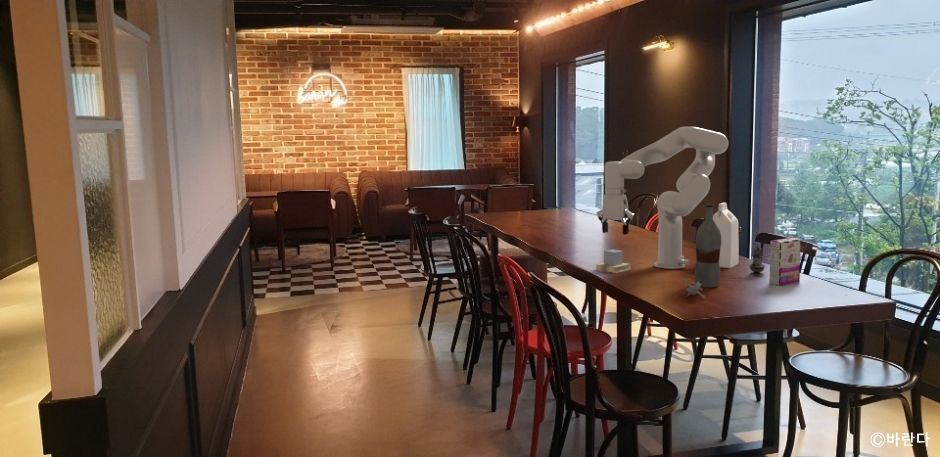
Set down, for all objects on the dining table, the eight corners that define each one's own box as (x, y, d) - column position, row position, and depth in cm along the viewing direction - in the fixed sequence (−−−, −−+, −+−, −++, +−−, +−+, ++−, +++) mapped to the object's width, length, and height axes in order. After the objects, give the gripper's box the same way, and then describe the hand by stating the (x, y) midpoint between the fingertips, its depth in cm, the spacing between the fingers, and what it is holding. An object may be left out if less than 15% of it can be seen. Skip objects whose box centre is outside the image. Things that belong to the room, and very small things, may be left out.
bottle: (688, 283, 269) (690, 203, 264) (707, 281, 272) (710, 202, 268) (706, 288, 260) (708, 206, 256) (725, 286, 264) (728, 204, 259)
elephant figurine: (705, 295, 251) (713, 291, 243) (695, 307, 251) (702, 304, 242) (683, 276, 253) (690, 272, 244) (672, 288, 252) (678, 285, 243)
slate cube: (622, 264, 296) (623, 251, 295) (614, 265, 292) (615, 252, 291) (611, 262, 300) (612, 249, 299) (603, 263, 296) (604, 250, 295)
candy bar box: (788, 280, 272) (790, 237, 270) (799, 282, 267) (802, 239, 265) (767, 283, 267) (769, 240, 264) (779, 286, 262) (781, 241, 260)
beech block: (630, 271, 297) (630, 263, 296) (616, 274, 290) (616, 267, 289) (610, 267, 304) (610, 260, 303) (596, 271, 297) (596, 264, 296)
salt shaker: (765, 273, 285) (766, 243, 283) (764, 276, 279) (765, 246, 278) (749, 272, 287) (750, 242, 285) (748, 275, 282) (749, 245, 280)
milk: (711, 260, 313) (713, 201, 309) (738, 263, 306) (740, 202, 303) (702, 265, 303) (704, 204, 300) (730, 268, 297) (732, 205, 293)
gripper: (638, 191, 289) (638, 233, 291) (601, 190, 301) (602, 230, 303) (628, 193, 283) (628, 236, 286) (591, 192, 296) (592, 233, 298)
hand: (615, 233), depth 295 cm, fingers open, 9 cm apart
